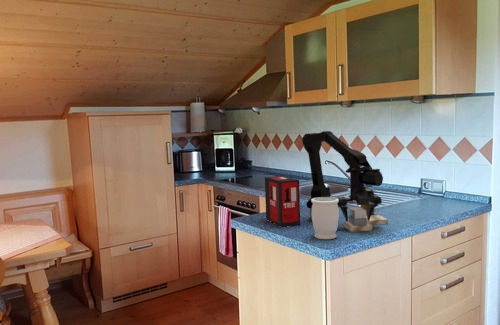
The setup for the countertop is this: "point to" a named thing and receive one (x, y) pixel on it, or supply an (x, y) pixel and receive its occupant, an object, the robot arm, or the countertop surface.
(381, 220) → the stand
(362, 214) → the block
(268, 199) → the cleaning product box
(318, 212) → the jar
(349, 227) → the stand
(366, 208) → the condiment
